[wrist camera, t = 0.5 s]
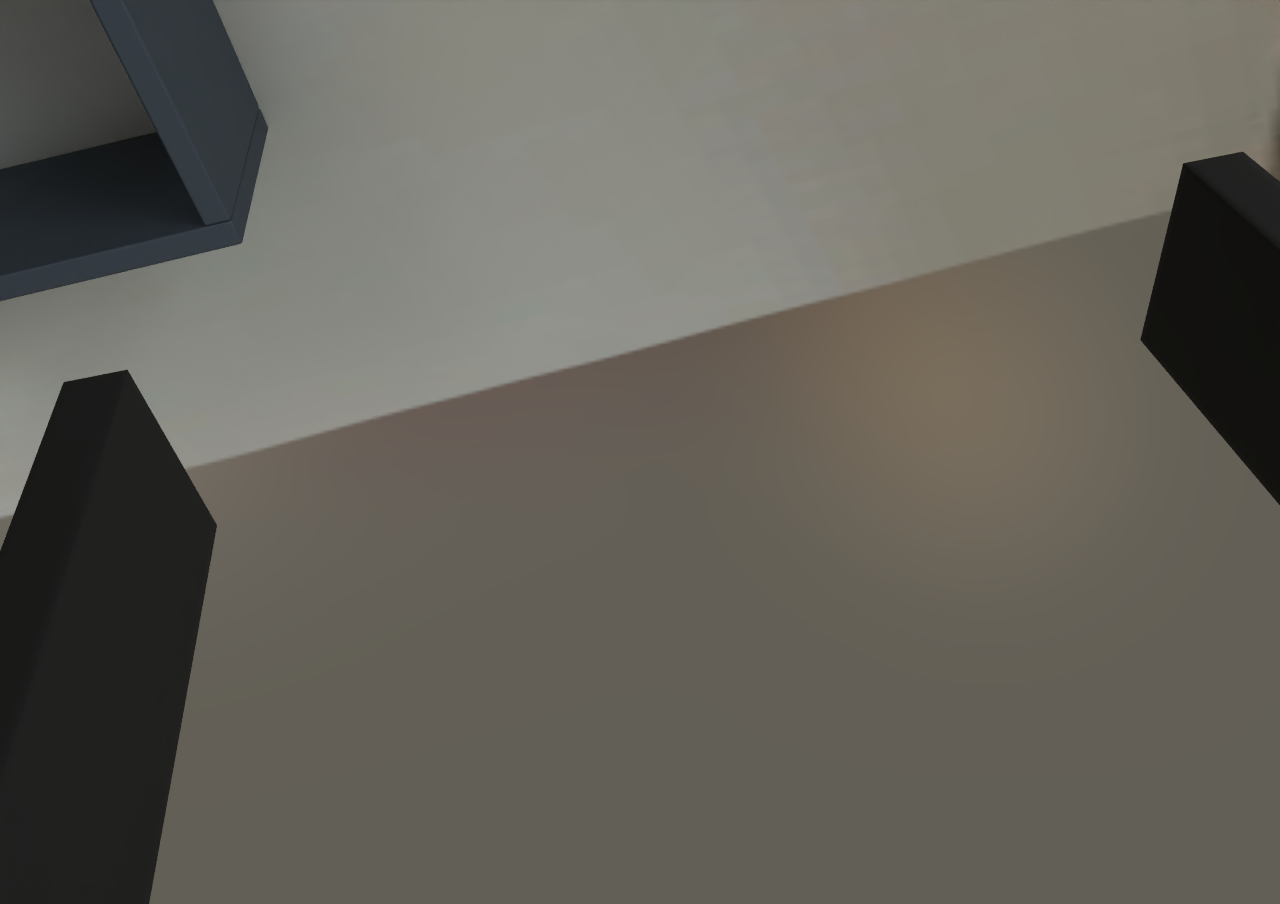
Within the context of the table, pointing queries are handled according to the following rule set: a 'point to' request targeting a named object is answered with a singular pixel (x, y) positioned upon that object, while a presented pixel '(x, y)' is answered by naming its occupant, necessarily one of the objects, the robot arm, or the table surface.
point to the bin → (142, 160)
